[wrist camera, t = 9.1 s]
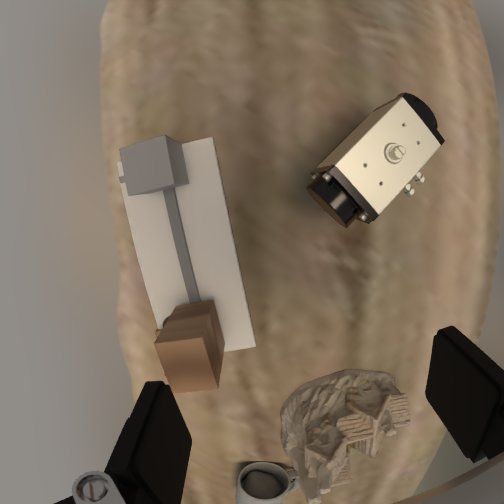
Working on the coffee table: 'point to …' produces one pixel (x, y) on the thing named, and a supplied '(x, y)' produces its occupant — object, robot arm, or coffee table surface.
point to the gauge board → (184, 232)
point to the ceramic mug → (265, 483)
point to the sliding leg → (191, 347)
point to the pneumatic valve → (377, 161)
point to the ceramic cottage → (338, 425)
